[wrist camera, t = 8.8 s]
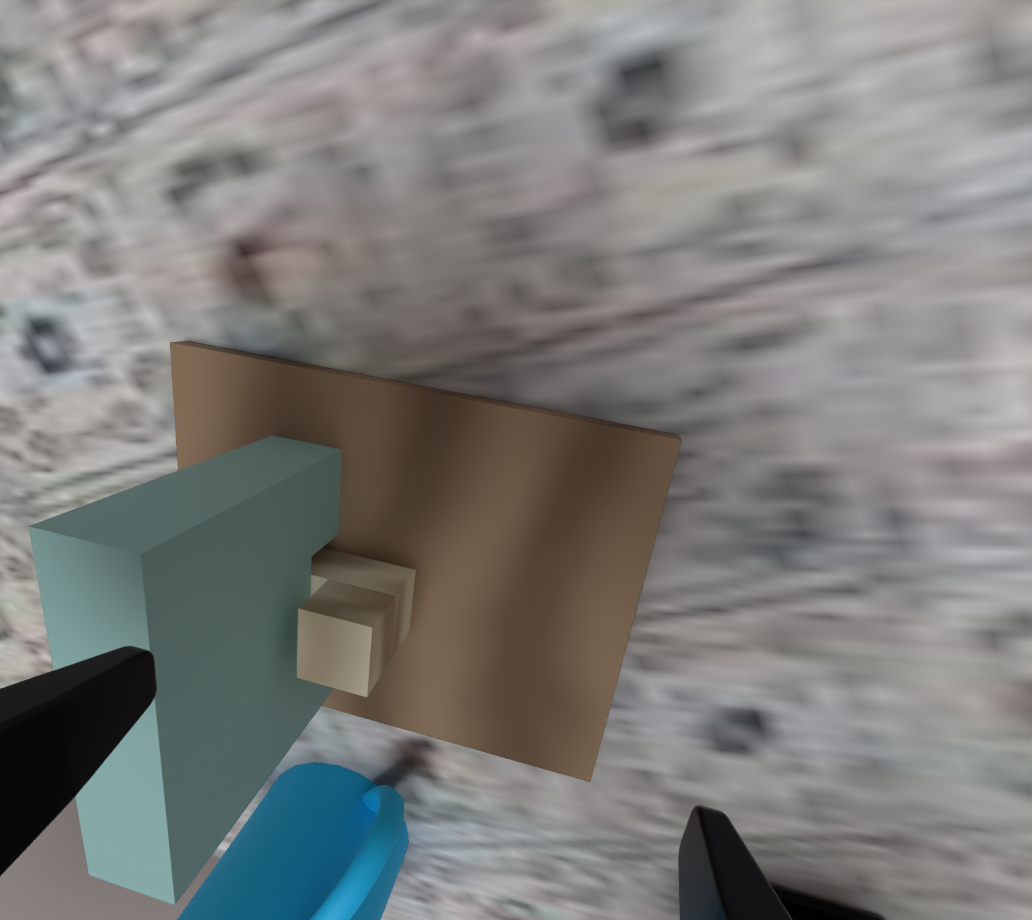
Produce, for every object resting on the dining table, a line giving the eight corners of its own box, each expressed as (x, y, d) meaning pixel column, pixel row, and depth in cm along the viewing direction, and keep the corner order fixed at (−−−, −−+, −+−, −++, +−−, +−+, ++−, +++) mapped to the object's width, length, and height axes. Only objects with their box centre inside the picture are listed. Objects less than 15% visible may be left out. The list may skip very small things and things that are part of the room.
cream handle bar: (415, 570, 21) (372, 627, 17) (409, 630, 22) (367, 697, 18) (200, 518, 22) (116, 561, 18) (203, 577, 23) (123, 629, 19)
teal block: (342, 449, 20) (140, 554, 11) (332, 690, 24) (175, 905, 15) (272, 435, 20) (28, 526, 12) (273, 675, 24) (89, 875, 16)
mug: (353, 897, 29) (260, 1109, 21) (245, 807, 29) (109, 991, 21) (485, 803, 25) (428, 1021, 17) (361, 697, 25) (247, 873, 17)
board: (678, 434, 18) (681, 440, 17) (591, 766, 23) (590, 782, 22) (186, 341, 21) (170, 342, 20) (202, 657, 26) (190, 668, 25)
